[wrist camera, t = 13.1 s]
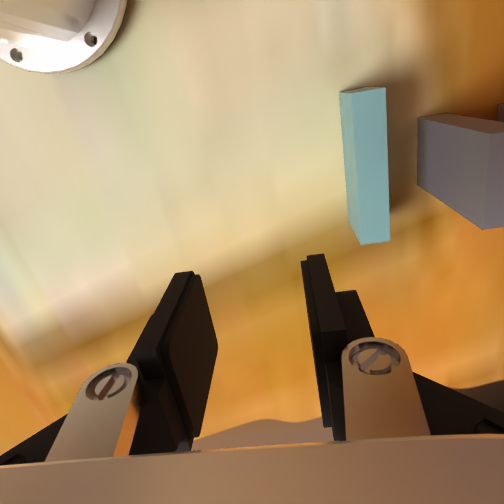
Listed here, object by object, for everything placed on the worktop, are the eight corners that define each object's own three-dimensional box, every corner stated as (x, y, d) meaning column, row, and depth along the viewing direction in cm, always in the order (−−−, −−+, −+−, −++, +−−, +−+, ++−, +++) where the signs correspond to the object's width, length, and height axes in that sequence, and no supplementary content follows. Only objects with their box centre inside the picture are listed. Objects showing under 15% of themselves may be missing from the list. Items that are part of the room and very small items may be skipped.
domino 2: (417, 184, 29) (482, 229, 20) (417, 117, 27) (490, 134, 18) (443, 180, 29) (521, 224, 20) (446, 113, 27) (534, 127, 18)
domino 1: (338, 92, 27) (348, 221, 31) (351, 93, 22) (361, 244, 26) (366, 86, 26) (373, 217, 30) (385, 87, 22) (390, 241, 26)
